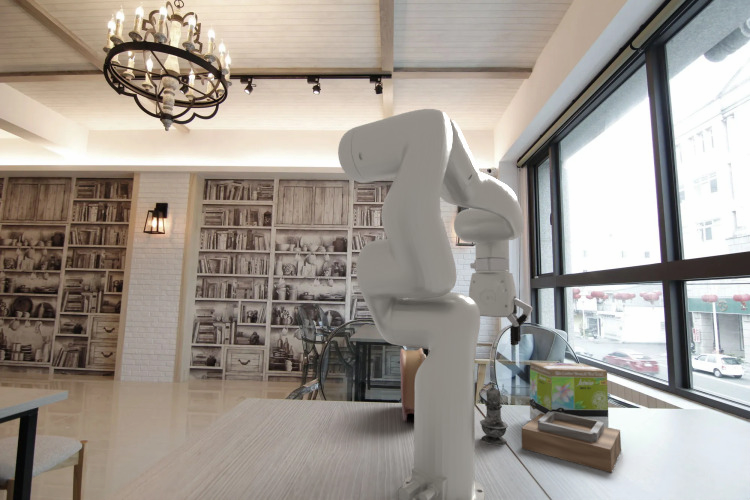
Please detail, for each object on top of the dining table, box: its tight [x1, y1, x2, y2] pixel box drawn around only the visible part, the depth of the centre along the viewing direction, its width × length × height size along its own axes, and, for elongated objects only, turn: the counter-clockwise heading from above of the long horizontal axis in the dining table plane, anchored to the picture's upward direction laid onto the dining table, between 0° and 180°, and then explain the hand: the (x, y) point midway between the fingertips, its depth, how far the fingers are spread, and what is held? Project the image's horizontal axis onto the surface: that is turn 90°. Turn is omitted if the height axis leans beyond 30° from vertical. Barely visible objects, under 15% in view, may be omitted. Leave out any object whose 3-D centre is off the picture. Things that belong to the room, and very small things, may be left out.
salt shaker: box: [479, 383, 509, 446], centre depth 82 cm, size 6×6×12 cm
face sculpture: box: [399, 348, 427, 423], centre depth 99 cm, size 20×7×17 cm, turn 179°
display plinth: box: [521, 411, 622, 474], centre depth 78 cm, size 14×16×6 cm
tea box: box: [529, 361, 609, 428], centre depth 94 cm, size 15×10×15 cm, turn 97°
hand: (493, 342), depth 84 cm, fingers open, 9 cm apart
